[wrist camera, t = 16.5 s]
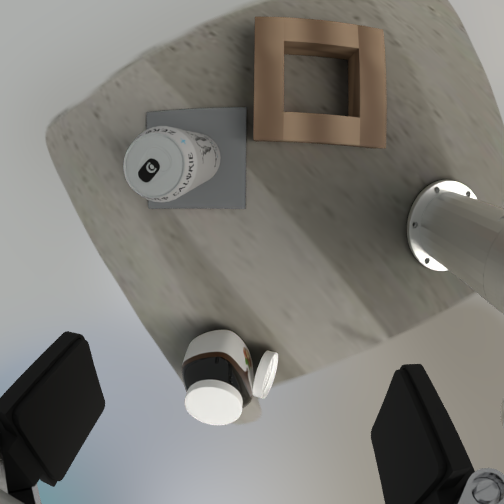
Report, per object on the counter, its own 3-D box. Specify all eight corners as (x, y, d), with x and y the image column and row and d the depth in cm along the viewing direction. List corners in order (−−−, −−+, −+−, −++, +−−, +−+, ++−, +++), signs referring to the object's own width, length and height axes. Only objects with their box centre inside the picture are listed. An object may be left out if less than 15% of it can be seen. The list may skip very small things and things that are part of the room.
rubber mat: (246, 107, 34) (246, 107, 34) (245, 207, 38) (245, 208, 37) (148, 112, 35) (146, 112, 34) (150, 207, 38) (148, 208, 38)
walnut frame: (369, 42, 31) (383, 29, 26) (371, 148, 35) (385, 148, 30) (256, 32, 31) (255, 16, 26) (254, 141, 36) (253, 139, 31)
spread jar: (185, 331, 44) (163, 383, 33) (259, 307, 42) (256, 360, 31) (220, 389, 47) (210, 445, 36) (288, 371, 46) (292, 428, 34)
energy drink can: (232, 157, 36) (210, 162, 21) (197, 193, 37) (155, 222, 23) (195, 122, 34) (151, 108, 20) (161, 160, 36) (102, 169, 22)
